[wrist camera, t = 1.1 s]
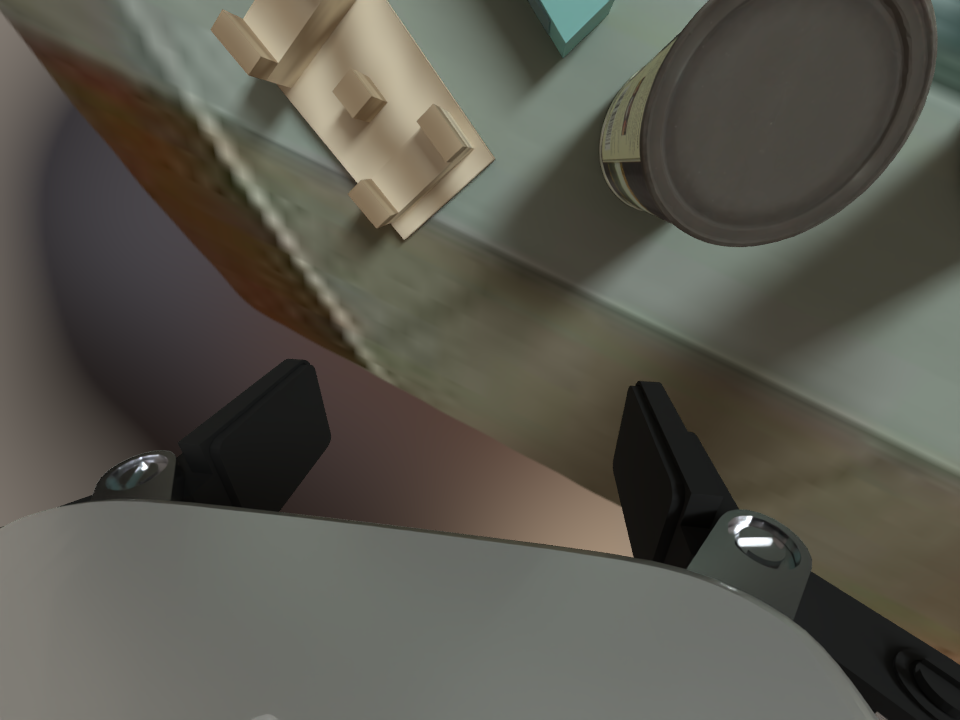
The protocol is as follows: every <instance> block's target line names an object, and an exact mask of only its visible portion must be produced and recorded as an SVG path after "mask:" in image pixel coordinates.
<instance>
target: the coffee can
mask: <svg viewBox="0 0 960 720" xmlns="http://www.w3.org/2000/svg"><path fill="white" fill-rule="evenodd" d="M936 57H937V27H936V18H935V13H934V9H933V5H932V2H931V0H709V1H708V2H707V3H706V4H705V5H704V6H703V7H702V8H701V9H700V10H699V11H698V12H697V13H696V14H695V16H694V17H693V18H692V19H691V20H690V22H689V23H688V24H687V25H686V26H685V28H684V29H683V30H682V32H680V33H679V34H678V35H677V36H676V37H675V38H674V39H673V40H672V41H671V42H670V43H669V44H668V45H667V46H666V47H664V48H663V49H662V50H661V51H660V52H659V53H658V54H657V55H656V56H655V57H654V58H653V59H652V60H651V61H650V62H648V63H647V65H645V66H644V67H642V68H641V69H640V70H639V71H637V72H636V73H635V74H634V75H633V76H632V77H631V78H630V79H629V80H628V81H627V82H626V83H625V84H624V86H623V87H622V88H621V89H620V91H619V92H618V94H617V95H616V97H615V98H614V99H613V102H612V104H611V106H610V108H609V110H608V112H607V115H606V117H605V120H604V123H603V127H602V131H601V137H600V146H599V154H600V164H601V168H602V172H603V175H604V177H605V180H606V182H607V183H608V185H609V187H610V188H611V190H612V191H613V192H614V194H615V195H616V196H617V197H618V198H619V199H621V200H622V201H623V202H624V203H625V204H627V205H629V206H631V207H633V208H635V209H638V210H641V211H645V212H647V213H650V214H652V215H654V216H657V217H659V218H661V219H663V220H665V221H667V222H670V223H671V224H673V225H675V226H676V227H677V228H679V229H680V230H682V231H683V232H685V233H687V234H688V235H690V236H692V237H694V238H696V239H699V240H702V241H704V242H707V243H711V244H715V245H720V246H728V247H747V246H758V245H764V244H769V243H773V242H778V241H781V240H784V239H787V238H790V237H794V236H796V235H798V234H800V233H803V232H805V231H807V230H809V229H811V228H813V227H815V226H817V225H819V224H821V223H823V222H824V221H826V220H828V219H829V218H831V217H832V216H834V215H835V214H837V213H838V212H840V211H841V210H842V209H844V208H845V207H846V206H847V205H849V204H850V203H851V202H853V201H854V200H855V199H856V198H858V197H859V196H860V195H861V194H862V193H864V192H865V191H866V190H867V189H868V188H869V187H870V186H871V185H872V184H873V183H874V181H875V180H876V179H877V178H878V177H879V176H880V175H881V174H882V173H883V172H884V171H885V169H886V168H887V167H888V165H889V164H890V163H891V162H892V161H893V159H894V158H895V157H896V155H897V154H898V152H899V151H900V150H901V148H902V147H903V145H904V144H905V142H906V141H907V139H908V137H909V135H910V134H911V132H912V130H913V128H914V126H915V124H916V123H917V121H918V118H919V116H920V114H921V112H922V110H923V107H924V105H925V102H926V99H927V96H928V93H929V90H930V86H931V83H932V80H933V76H934V72H935V64H936Z"/></svg>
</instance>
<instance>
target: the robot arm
mask: <svg viewBox="0 0 960 720" xmlns="http://www.w3.org/2000/svg"><path fill="white" fill-rule="evenodd" d="M330 440H331V433H330V429H329V425H328V421H327V417H326V413H325V408H324V404H323V400H322V396H321V392H320V388H319V384H318V380H317V375H316V371H315V368H314V367H313V366H312V365H310V363H309V362H308V361H306V360H297V359H286V360H284V361H283V362H282V363H280V364H279V365H278V366H276V367H275V368H274V369H272V370H271V371H270V372H269V373H267V374H266V375H265V376H263V377H262V378H261V379H259V380H258V381H257V382H256V383H254V384H253V385H252V386H250V387H249V388H248V389H247V390H245V391H244V392H243V393H241V394H240V395H239V396H237V397H236V398H235V399H234V400H232V401H231V402H230V403H228V404H227V405H226V406H225V407H223V408H222V409H221V410H219V411H218V412H217V413H216V414H214V415H213V416H212V417H210V418H209V419H208V420H206V421H205V422H204V423H203V424H201V425H200V426H199V427H197V428H196V429H195V430H194V431H192V432H191V433H190V434H188V435H187V436H186V437H184V438H183V439H182V440H181V441H179V442H178V444H179V446H180V448H181V450H182V452H183V453H182V454H181V455H180V456H178V457H177V458H176V456H175V455H174V454H173V453H172V452H170V451H163V450H161V451H151V452H147V453H142V454H139V455H137V456H134V457H131V458H129V459H127V460H125V461H123V462H121V463H119V464H117V465H116V466H114V467H113V468H111V469H110V470H108V471H107V472H106V473H105V474H104V475H103V476H102V477H101V478H100V480H99V481H98V483H97V484H96V487H95V490H94V492H93V495H91V496H88V497H85V498H82V499H79V500H77V501H74V502H71V503H68V504H65V505H63V506H60V507H57V508H53V509H49V510H45V511H42V512H39V513H36V514H32V515H29V516H26V517H23V518H21V519H18V520H16V521H14V522H12V523H9V524H8V525H6V526H3V527H0V720H960V665H959V664H957V663H956V662H954V661H953V660H952V659H950V658H948V657H947V656H945V655H944V654H942V653H940V652H939V651H937V650H936V649H934V648H932V647H931V646H929V645H928V644H926V643H924V642H923V641H921V640H920V639H918V638H916V637H915V636H913V635H912V634H910V633H908V632H907V631H905V630H904V629H902V628H900V627H899V626H897V625H896V624H894V623H892V622H891V621H889V620H888V619H886V618H884V617H883V616H881V615H880V614H878V613H876V612H875V611H873V610H872V609H870V608H868V607H867V606H865V605H864V604H862V603H861V602H859V601H857V600H856V599H854V598H853V597H851V596H849V595H848V594H846V593H845V592H843V591H841V590H840V589H838V588H837V587H835V586H833V585H832V584H830V583H829V582H827V581H825V580H824V579H822V578H821V577H819V576H817V575H816V574H814V573H813V572H811V569H812V558H811V556H810V553H809V551H808V549H807V547H806V546H805V545H804V543H803V542H802V541H801V540H800V538H799V537H798V536H797V535H795V534H794V533H793V532H792V531H791V530H790V529H788V528H787V527H786V526H784V525H783V524H781V523H779V522H778V521H776V520H775V519H773V518H770V517H768V516H766V515H763V514H761V513H758V512H754V511H750V510H739V508H738V507H737V505H736V503H735V501H734V500H733V498H732V496H731V495H730V493H729V491H728V489H727V488H726V486H725V484H724V482H723V481H722V479H721V477H720V475H719V474H718V472H717V470H716V468H715V467H714V465H713V463H712V461H711V460H710V458H709V456H708V454H707V453H706V451H705V449H704V448H703V446H702V444H701V442H700V441H699V439H698V437H697V436H696V435H695V434H694V433H692V432H688V431H687V429H686V428H685V426H684V424H683V422H682V420H681V418H680V417H679V415H678V413H677V411H676V409H675V407H674V406H673V404H672V402H671V400H670V398H669V397H668V395H667V393H666V391H665V389H664V387H663V386H662V384H661V383H659V382H644V381H638V382H637V383H636V386H630V387H629V388H628V392H627V397H626V402H625V407H624V411H623V416H622V421H621V426H620V431H619V435H618V440H617V445H616V450H615V455H614V460H613V472H614V476H615V481H616V485H617V489H618V493H619V498H620V502H621V506H622V510H623V514H624V518H625V523H626V527H627V531H628V535H629V540H630V543H631V548H632V552H633V556H634V558H632V557H627V556H621V555H615V554H610V553H603V552H596V551H589V550H582V549H574V548H567V547H560V546H553V545H546V544H538V543H530V542H522V541H515V540H506V539H498V538H490V537H483V536H474V535H466V534H459V533H451V532H443V531H434V530H427V529H419V528H410V527H401V526H394V525H386V524H377V523H369V522H360V521H352V520H344V519H335V518H327V517H319V516H310V515H301V514H292V513H284V512H279V511H280V510H281V508H282V507H283V506H284V504H285V503H286V502H287V500H288V499H289V498H290V496H291V495H292V494H293V492H294V491H295V490H296V488H297V487H298V486H299V484H300V483H301V482H302V480H303V479H304V478H305V476H306V475H307V474H308V472H309V471H310V470H311V468H312V467H313V466H314V464H315V463H316V462H317V460H318V459H319V458H320V456H321V455H322V454H323V452H324V451H325V450H326V448H327V447H328V445H329V443H330Z"/></svg>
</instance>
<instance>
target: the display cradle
mask: <svg viewBox="0 0 960 720" xmlns="http://www.w3.org/2000/svg"><path fill="white" fill-rule="evenodd" d="M211 31H212V32H213V33H214V35H215V36H216V37H217V38H218V39H219V41H220V42H221V43H222V44H223V45H224V47H225V48H226V49H227V50H228V51H229V53H230V54H231V55H232V56H233V57H234V59H235V60H236V61H237V62H238V63H239V65H240V66H241V67H242V68H243V69H244V71H245V72H246V73H247V74H248V75H249V76H253V77H256V78H259V79H263V80H266V81H269V82H273V83H276V84H277V85H278V87H279V88H280V89H281V90H282V92H283V93H284V94H285V95H286V96H287V98H288V99H289V100H290V101H291V103H292V104H293V105H294V106H295V107H296V109H297V110H298V111H299V112H300V114H301V115H302V116H303V117H304V118H305V120H306V121H307V122H308V123H309V124H310V126H311V127H312V128H313V129H314V131H315V132H316V133H317V134H318V135H319V137H320V138H321V139H322V140H323V142H324V143H325V144H326V145H327V146H328V148H329V149H330V150H331V151H332V153H333V154H334V155H335V156H336V157H337V159H338V160H339V161H340V162H341V164H342V165H343V166H344V167H345V168H346V170H347V171H348V172H349V173H350V175H351V176H352V177H353V178H354V179H355V181H356V182H357V183H358V184H357V185H356V186H355V187H354V188H353V189H352V190H351V191H350V192H349V193H348V195H349V196H350V197H351V199H352V200H353V201H354V202H355V203H356V205H357V206H358V207H359V208H360V209H361V211H362V212H363V213H364V214H365V215H366V217H367V218H368V219H369V220H370V221H371V223H372V224H373V225H374V226H375V227H376V229H377V228H380V227H382V226H385V225H387V224H390V223H391V225H392V226H393V227H394V228H395V230H396V231H397V232H398V233H399V234H400V236H401V237H402V238H403V239H404V240H405V239H407V238H408V237H409V236H410V235H411V234H413V233H414V232H415V231H416V230H417V229H418V228H419V227H420V226H421V225H423V224H424V223H425V222H426V221H427V220H428V219H429V218H430V217H432V216H433V215H434V214H435V213H436V212H437V211H438V210H439V209H440V208H442V207H443V206H444V205H445V204H446V203H447V202H448V201H449V200H450V199H452V198H453V197H454V196H455V195H456V194H457V193H458V192H459V191H460V190H462V189H463V188H464V187H465V186H466V185H467V184H468V183H469V182H471V181H472V180H473V179H474V178H475V177H476V176H477V175H478V174H479V173H481V172H482V171H483V170H484V169H485V168H486V167H487V166H488V165H489V164H491V163H492V162H493V161H494V160H495V158H494V156H493V155H492V153H491V152H490V150H489V149H488V147H487V146H486V144H485V143H484V141H483V140H482V138H481V137H480V136H479V134H478V133H477V131H476V130H475V128H474V127H473V125H472V124H471V122H470V121H469V119H468V118H467V117H466V115H465V114H464V112H463V111H462V109H461V108H460V106H459V105H458V103H457V102H456V100H455V99H454V97H453V96H452V95H451V93H450V92H449V90H448V89H447V87H446V86H445V84H444V83H443V81H442V80H441V78H440V77H439V76H438V74H437V73H436V71H435V70H434V68H433V67H432V65H431V64H430V62H429V61H428V59H427V58H426V56H425V55H424V54H423V52H422V51H421V49H420V48H419V46H418V45H417V43H416V42H415V40H414V39H413V37H412V36H411V34H410V33H409V32H408V30H407V29H406V27H405V26H404V24H403V23H402V21H401V20H400V18H399V17H398V15H397V14H396V13H395V11H394V10H393V8H392V7H391V5H390V4H389V2H388V1H387V0H255V1H254V2H253V4H252V5H251V7H250V9H249V10H248V12H247V14H246V15H245V17H244V18H243V19H242V18H240V17H238V16H236V15H233V14H231V13H229V12H227V11H225V10H223V9H222V11H221V13H220V15H219V16H218V18H217V20H216V21H215V23H214V25H213V27H212V28H211Z"/></svg>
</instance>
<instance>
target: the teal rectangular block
mask: <svg viewBox="0 0 960 720" xmlns="http://www.w3.org/2000/svg"><path fill="white" fill-rule="evenodd" d="M528 2H529V4H530V5H531V7H532V9H533V10H534V12H535V14H536V15H537V17H538V19H539V20H540V22H541V24H542V26H543V27H544V29H545V31H546V32H547V34H548V35H550V37H551V39H552V40H553V42H554V44H555V46H556V47H557V49H558V51H559V52H560V54H561V56H562V57H563V58H564V57H565V56H566V55H567V54H568V53H569V52H570V51H571V50H572V49H573V48H574V47H575V46H576V45H577V44H578V43H579V42H580V41H581V40H582V39H583V38H584V37H585V36H586V35H587V34H589V33H590V32H591V31H592V30H593V29H594V28H595V27H596V26H597V25H598V24H599V23H600V22H601V21H602V20H603V19H604V18H605V17H606V16H607V15H608V13H609V11H610V9H611V7H612V4H613V2H614V0H528Z"/></svg>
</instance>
